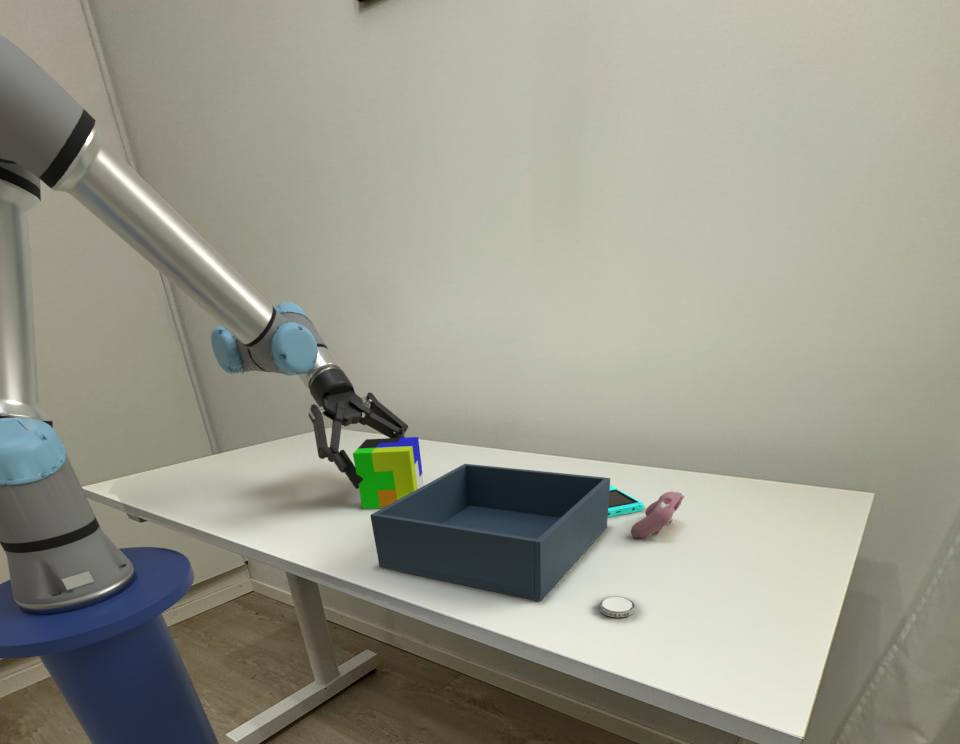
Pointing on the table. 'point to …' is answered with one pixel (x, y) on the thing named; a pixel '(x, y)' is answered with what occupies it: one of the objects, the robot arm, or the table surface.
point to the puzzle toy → (388, 470)
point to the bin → (494, 528)
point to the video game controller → (658, 515)
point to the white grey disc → (617, 606)
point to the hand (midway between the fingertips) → (388, 475)
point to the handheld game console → (622, 503)
